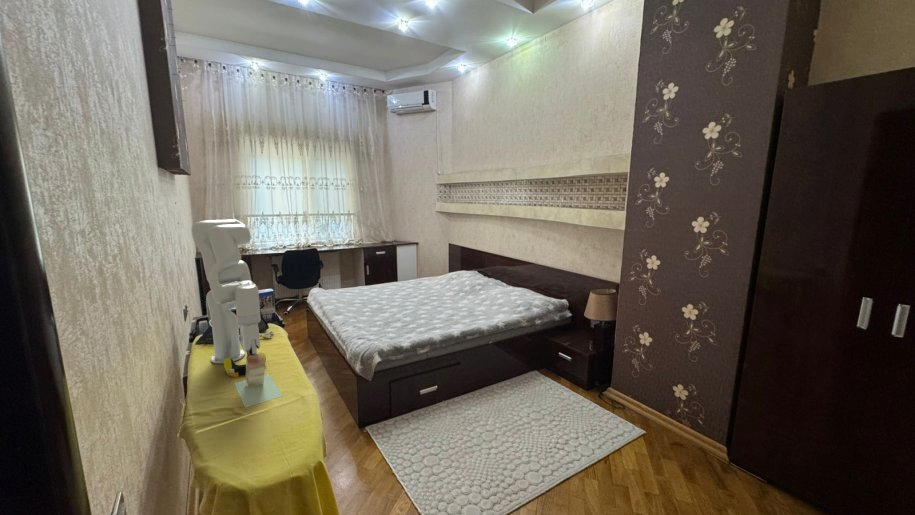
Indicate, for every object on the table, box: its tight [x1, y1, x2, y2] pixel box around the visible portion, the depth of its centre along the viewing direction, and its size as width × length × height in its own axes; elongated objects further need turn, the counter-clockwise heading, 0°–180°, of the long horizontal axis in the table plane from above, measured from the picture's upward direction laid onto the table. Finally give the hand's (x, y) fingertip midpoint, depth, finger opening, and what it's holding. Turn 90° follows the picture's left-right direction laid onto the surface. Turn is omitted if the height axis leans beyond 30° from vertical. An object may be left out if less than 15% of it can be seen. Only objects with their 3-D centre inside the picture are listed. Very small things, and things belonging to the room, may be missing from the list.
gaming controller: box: [223, 352, 267, 378], centre depth 149 cm, size 15×6×10 cm
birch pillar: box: [245, 352, 266, 388], centre depth 136 cm, size 5×5×12 cm
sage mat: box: [234, 373, 283, 409], centre depth 136 cm, size 20×12×1 cm, turn 40°
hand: (252, 364), depth 139 cm, fingers closed
